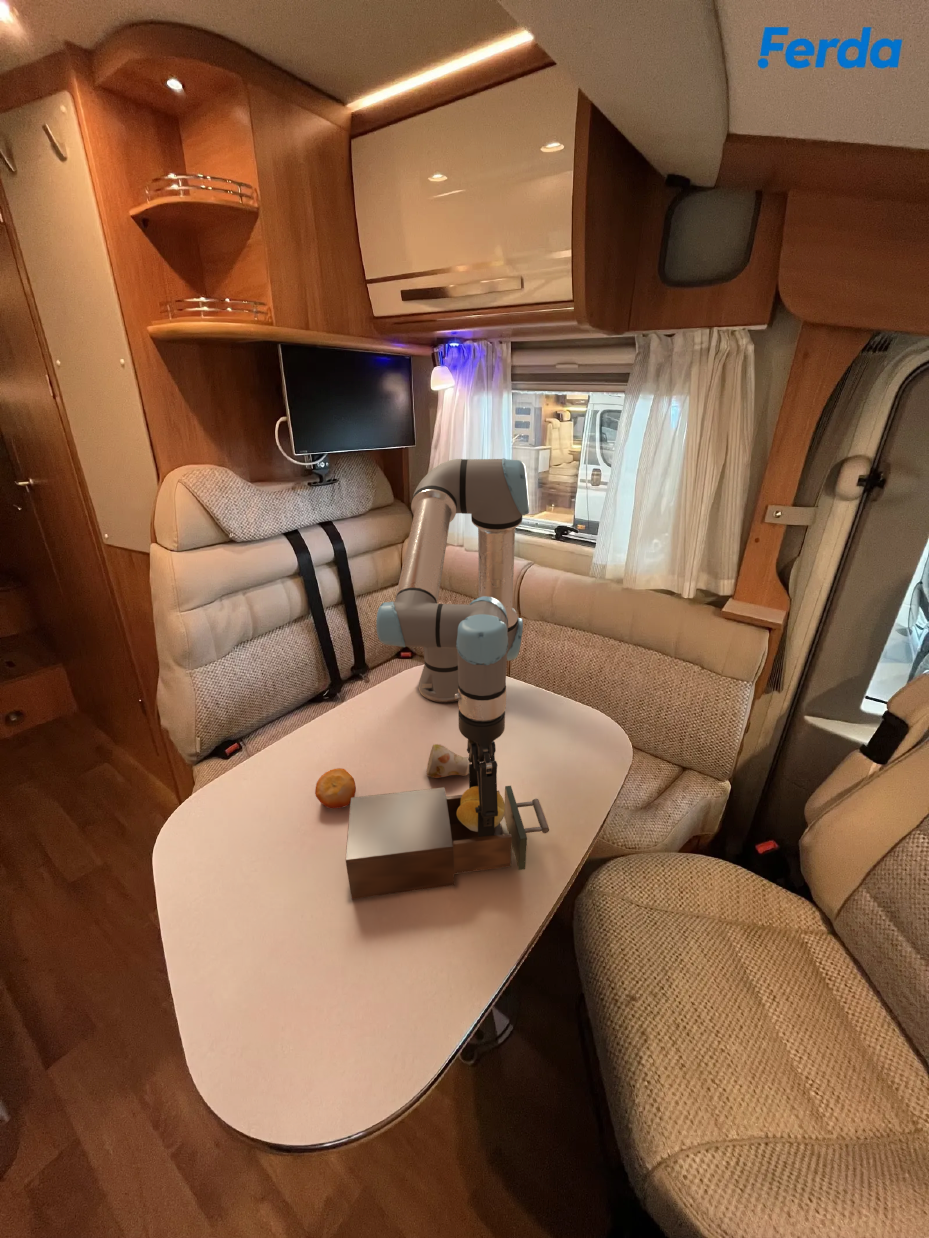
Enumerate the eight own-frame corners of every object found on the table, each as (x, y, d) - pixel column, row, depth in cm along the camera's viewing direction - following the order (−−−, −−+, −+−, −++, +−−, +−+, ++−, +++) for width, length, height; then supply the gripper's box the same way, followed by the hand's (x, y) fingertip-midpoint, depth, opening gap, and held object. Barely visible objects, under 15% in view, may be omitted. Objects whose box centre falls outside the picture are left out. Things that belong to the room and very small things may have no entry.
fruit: (357, 773, 110) (353, 762, 103) (358, 810, 105) (354, 801, 99) (319, 778, 108) (313, 767, 102) (319, 816, 104) (312, 806, 98)
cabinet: (446, 823, 99) (444, 786, 95) (454, 885, 87) (453, 846, 83) (356, 834, 97) (350, 797, 93) (351, 899, 85) (345, 860, 80)
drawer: (533, 812, 100) (535, 782, 97) (551, 865, 89) (555, 834, 86) (427, 824, 98) (425, 794, 94) (432, 881, 86) (430, 850, 83)
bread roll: (452, 829, 86) (452, 812, 85) (465, 791, 94) (465, 775, 93) (499, 838, 85) (500, 821, 83) (508, 799, 92) (509, 783, 91)
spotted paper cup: (475, 784, 109) (452, 759, 103) (437, 793, 112) (413, 770, 107) (477, 755, 114) (455, 730, 109) (440, 764, 118) (418, 741, 112)
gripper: (450, 674, 89) (453, 771, 99) (468, 758, 70) (469, 867, 79) (491, 671, 90) (490, 767, 100) (521, 752, 71) (515, 861, 80)
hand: (481, 811), depth 90 cm, fingers closed on bread roll, 9 cm apart
